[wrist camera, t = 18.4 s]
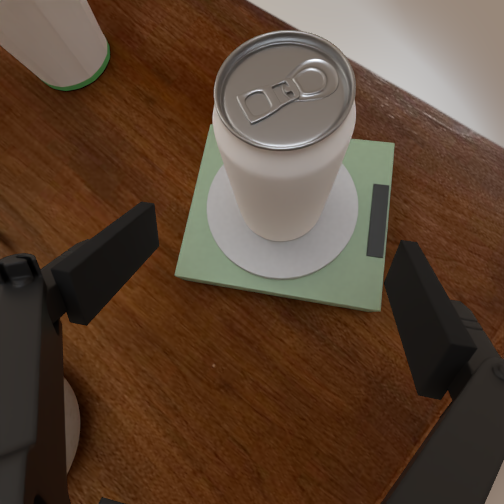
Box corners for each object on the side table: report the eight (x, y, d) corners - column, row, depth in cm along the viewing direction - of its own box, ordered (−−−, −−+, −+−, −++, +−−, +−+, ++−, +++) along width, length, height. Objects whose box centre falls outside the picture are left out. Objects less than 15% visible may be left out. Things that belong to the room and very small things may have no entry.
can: (337, 221, 22) (400, 114, 11) (260, 257, 22) (242, 187, 11) (299, 154, 24) (318, -2, 12) (227, 187, 24) (179, 60, 12)
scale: (384, 158, 27) (398, 137, 24) (370, 312, 24) (384, 310, 21) (215, 139, 29) (208, 117, 26) (183, 279, 26) (170, 274, 23)
